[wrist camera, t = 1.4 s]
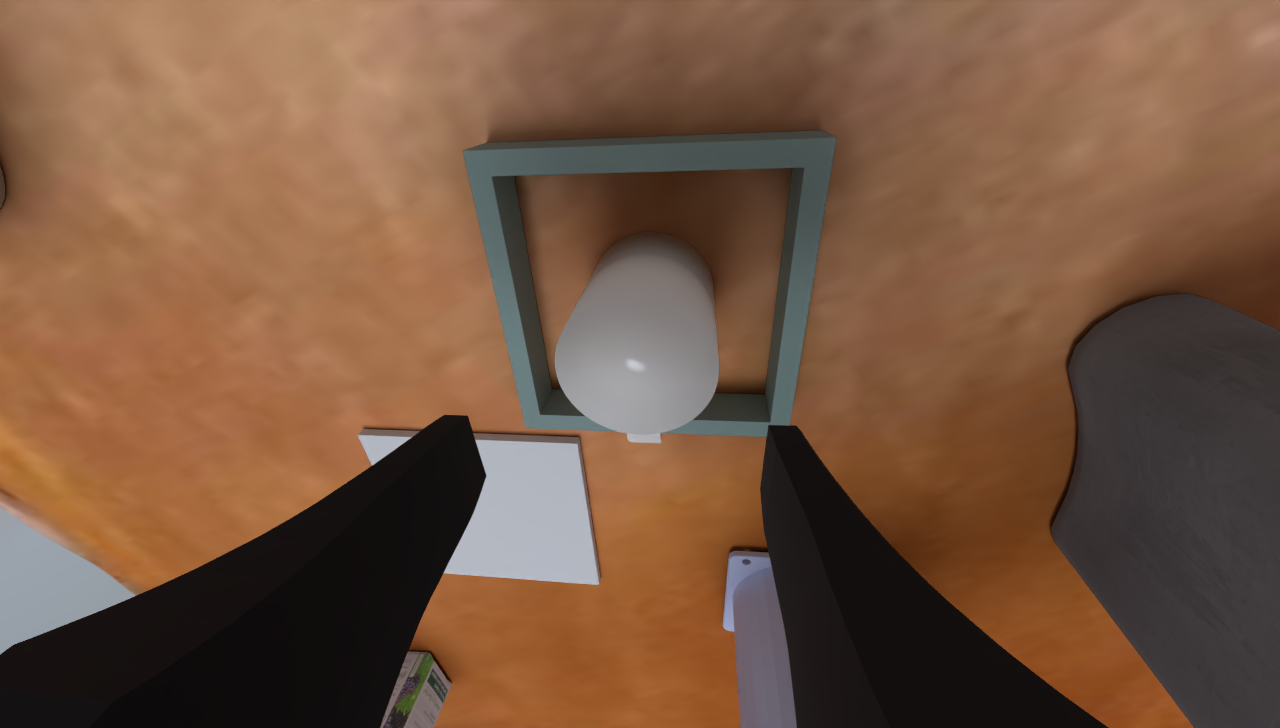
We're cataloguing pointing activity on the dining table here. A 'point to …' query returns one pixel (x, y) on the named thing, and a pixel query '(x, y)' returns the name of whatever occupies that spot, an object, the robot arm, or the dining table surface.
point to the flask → (1183, 499)
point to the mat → (521, 508)
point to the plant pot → (2, 188)
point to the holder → (762, 150)
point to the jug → (642, 338)
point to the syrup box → (417, 693)
